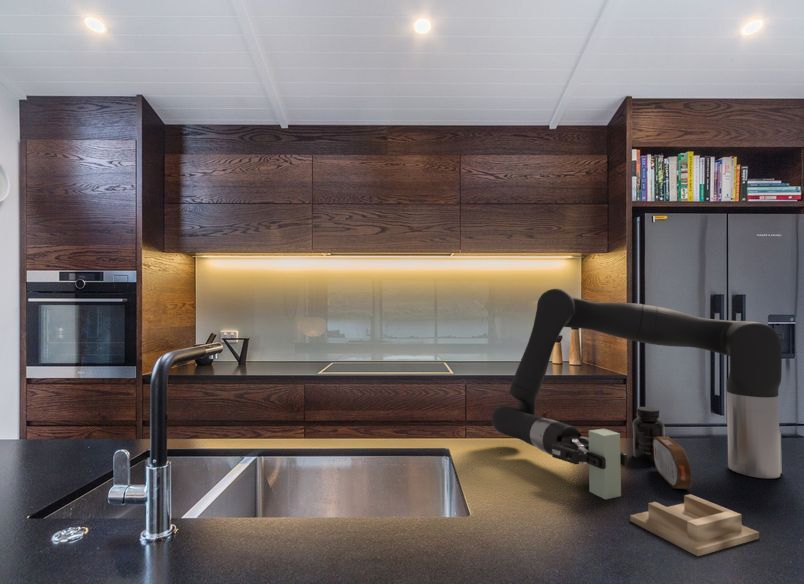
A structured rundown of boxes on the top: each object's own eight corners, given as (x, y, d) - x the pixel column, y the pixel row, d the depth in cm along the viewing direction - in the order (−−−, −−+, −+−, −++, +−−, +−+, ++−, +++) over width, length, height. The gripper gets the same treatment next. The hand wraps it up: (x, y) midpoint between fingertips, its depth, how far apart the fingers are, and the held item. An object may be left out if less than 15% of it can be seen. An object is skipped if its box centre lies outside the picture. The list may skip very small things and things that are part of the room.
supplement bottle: (635, 452, 117) (635, 404, 117) (667, 457, 113) (666, 407, 113) (630, 460, 111) (630, 409, 111) (663, 465, 107) (662, 413, 107)
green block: (604, 488, 94) (604, 428, 94) (620, 496, 90) (620, 433, 90) (589, 491, 92) (588, 430, 92) (605, 499, 88) (604, 435, 89)
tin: (693, 496, 90) (692, 452, 90) (675, 495, 91) (675, 451, 91) (666, 469, 105) (665, 431, 105) (650, 468, 105) (650, 431, 106)
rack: (687, 507, 85) (687, 488, 85) (759, 538, 73) (758, 516, 74) (630, 521, 79) (630, 500, 79) (697, 556, 68) (697, 532, 68)
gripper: (528, 424, 102) (586, 446, 86) (580, 418, 107) (642, 438, 91) (528, 459, 102) (586, 487, 86) (580, 451, 107) (643, 476, 91)
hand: (615, 461), depth 89 cm, fingers open, 5 cm apart
